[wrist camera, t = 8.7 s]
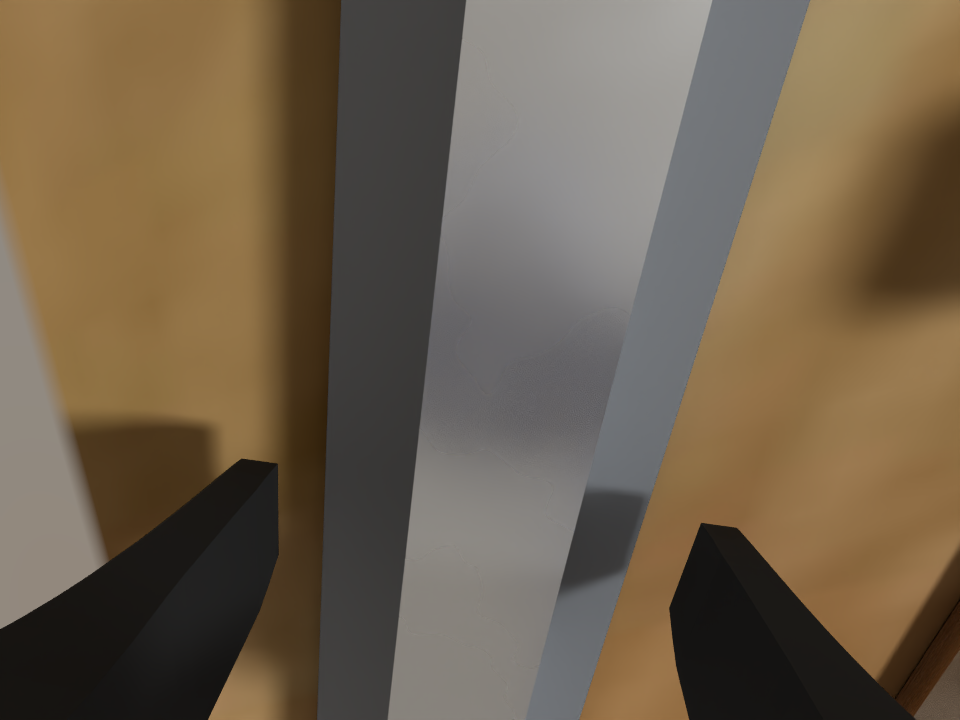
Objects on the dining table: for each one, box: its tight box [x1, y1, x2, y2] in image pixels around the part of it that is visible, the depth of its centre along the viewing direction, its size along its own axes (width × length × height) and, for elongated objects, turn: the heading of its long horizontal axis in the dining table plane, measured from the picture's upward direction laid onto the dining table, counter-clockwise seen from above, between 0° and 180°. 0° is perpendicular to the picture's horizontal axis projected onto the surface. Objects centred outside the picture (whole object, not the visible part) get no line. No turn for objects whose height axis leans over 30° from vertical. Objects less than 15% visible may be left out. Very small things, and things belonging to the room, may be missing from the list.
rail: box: [388, 0, 712, 720], centre depth 12 cm, size 20×2×2 cm, turn 172°
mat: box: [317, 0, 810, 720], centre depth 13 cm, size 21×6×1 cm, turn 172°
